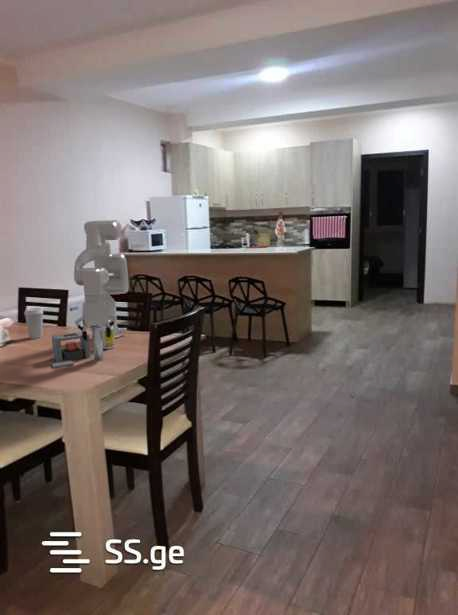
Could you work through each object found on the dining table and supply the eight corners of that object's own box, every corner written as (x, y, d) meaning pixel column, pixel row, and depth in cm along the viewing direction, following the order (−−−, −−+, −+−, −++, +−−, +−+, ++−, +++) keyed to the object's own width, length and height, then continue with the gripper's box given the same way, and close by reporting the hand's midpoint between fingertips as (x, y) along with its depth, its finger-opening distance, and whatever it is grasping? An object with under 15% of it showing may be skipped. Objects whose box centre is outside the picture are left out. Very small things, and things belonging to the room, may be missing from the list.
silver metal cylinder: (102, 357, 218) (99, 326, 216) (104, 359, 214) (102, 327, 212) (92, 359, 216) (90, 327, 214) (95, 361, 213) (92, 328, 210)
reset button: (75, 347, 222) (75, 341, 222) (78, 350, 218) (77, 343, 218) (64, 349, 220) (64, 342, 219) (67, 351, 216) (66, 344, 215)
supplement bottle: (117, 346, 237) (115, 319, 235) (109, 349, 231) (107, 322, 229) (105, 345, 240) (103, 319, 238) (97, 349, 233) (95, 322, 231)
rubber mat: (70, 361, 213) (70, 359, 212) (74, 365, 207) (73, 363, 207) (51, 364, 209) (51, 363, 209) (54, 368, 204) (53, 366, 203)
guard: (85, 353, 227) (84, 331, 225) (90, 357, 219) (89, 334, 217) (53, 357, 220) (51, 335, 218) (57, 362, 212) (55, 339, 211)
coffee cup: (49, 336, 265) (47, 308, 262) (34, 340, 257) (31, 311, 254) (38, 334, 270) (35, 307, 267) (22, 338, 262) (19, 310, 259)
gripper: (111, 296, 218) (114, 334, 221) (71, 299, 210) (74, 339, 213) (116, 297, 212) (119, 337, 214) (75, 301, 203) (78, 343, 206)
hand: (97, 338), depth 213 cm, fingers open, 9 cm apart
